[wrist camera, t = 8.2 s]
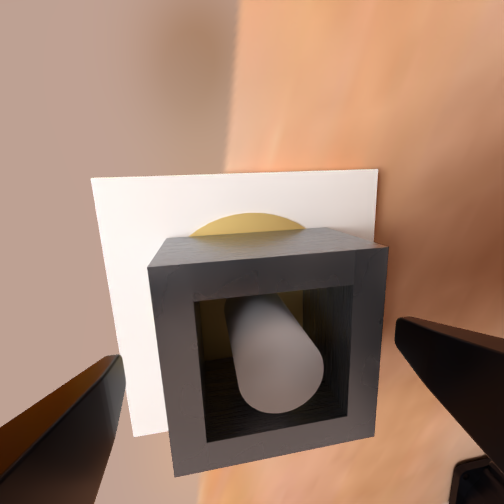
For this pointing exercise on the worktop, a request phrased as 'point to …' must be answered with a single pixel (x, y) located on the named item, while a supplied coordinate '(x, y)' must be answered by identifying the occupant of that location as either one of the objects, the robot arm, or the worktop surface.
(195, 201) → the post base
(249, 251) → the grey hollow square box
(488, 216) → the worktop surface
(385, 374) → the worktop surface
